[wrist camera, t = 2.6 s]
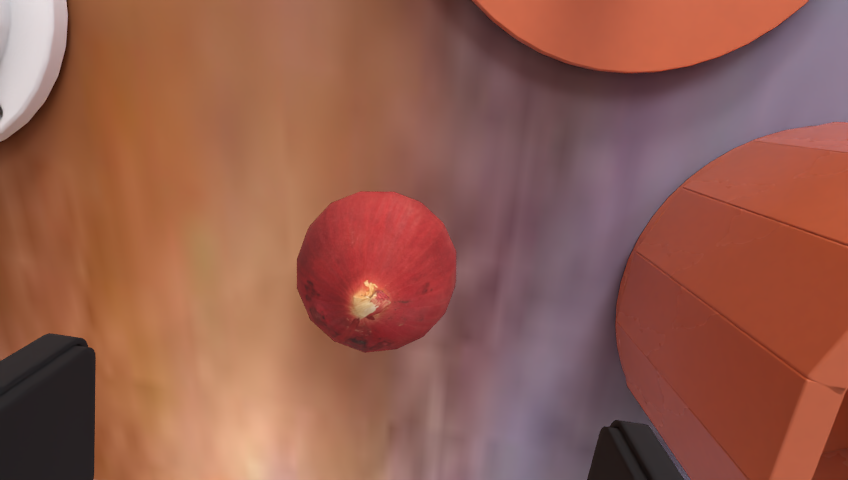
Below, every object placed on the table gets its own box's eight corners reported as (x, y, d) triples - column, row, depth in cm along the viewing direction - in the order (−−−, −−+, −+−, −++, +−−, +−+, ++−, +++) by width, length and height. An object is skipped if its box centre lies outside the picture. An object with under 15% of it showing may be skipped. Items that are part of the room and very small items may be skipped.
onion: (423, 325, 25) (419, 428, 17) (301, 281, 24) (240, 365, 17) (472, 207, 23) (493, 260, 16) (345, 157, 23) (300, 186, 15)
